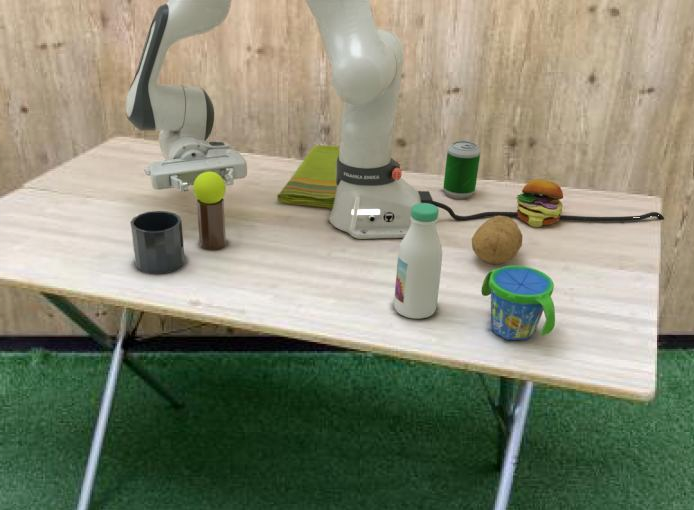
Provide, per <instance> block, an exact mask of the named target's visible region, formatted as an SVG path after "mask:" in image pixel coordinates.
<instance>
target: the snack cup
mask: <svg viewBox="0 0 694 510" xmlns="http://www.w3.org/2000/svg"><path fill="white" fill-rule="evenodd" d="M554 286H555V284H554V281H553V279H552V278H551V277H550V276H549V275H548V274H546V273H545V272H543V271H541V270H539V269H536V268H533V267H529V266H524V265H506V266H502V267H498V268H495V269H492V270H490V271H488V272H487V273H486V275H485V277H484V279H483V282H482V285H481V295H482V296H483V297H487V296H490V329H491V330H492V331H493V332H494V333H495V334H496V335H498V336H499V337H502V338H504V339H505V340H507V341H508V340H514V341H522V340H528V339H530V337H532V336H533V334H535V332H536V330H537V327H538V325H539V323H540V320H541V317H542V316H543V314H544V317H545V322H544V325H543V327H542V330H541V331H540V336H546V335H548V334H550V333H551V332H552V331H553V330H554V329H555V325H556V312H555V311H556V309H555V305H554V299H553V298H552V295H553V292H554V288H555V287H554Z"/></svg>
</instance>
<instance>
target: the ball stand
mask: <svg viewBox="0 0 694 510" xmlns="http://www.w3.org/2000/svg"><path fill="white" fill-rule="evenodd" d="M196 210H197V211H196V212H197V224H198V237H199V238H198V239H199V244H200V245H199V246H200V247H201V248H202V249H204V250H208V251H217V250H221V249H223V248H225V247H226V241H227V237H226V236H227V234H226V216H225V215H226V214H225V199H224V197H223V198H222V199H221V200H220V201H219V202H217V203H215V204H205V203H203V202H201V201H200V200H198V199H197V200H196Z"/></svg>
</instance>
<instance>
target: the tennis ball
mask: <svg viewBox="0 0 694 510" xmlns="http://www.w3.org/2000/svg"><path fill="white" fill-rule="evenodd" d="M192 186H193V187H192V189H193V193H194V196H195V198H196V199H197V200H200V201H201V202H203V203H205V204H215V203H217V202H219V201H220V200H221V199H222V198H223V199H224V197H225V195H226V188H227V187H226V184H225V182H224V180H223V179H222V177H221V176H220V175H218V174H217V173H214V172H204V173H202V174H200V175H199V176H198V177H197V178H196V179H195V182H194V185H192Z"/></svg>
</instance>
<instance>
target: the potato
mask: <svg viewBox="0 0 694 510" xmlns="http://www.w3.org/2000/svg"><path fill="white" fill-rule="evenodd" d="M471 246H472V250H473V252H474V253H475V255H476V256H477V257H478V258H479V259H480V260H481V261H482V262H485V263H487V264H492V265H500V264H503V263H506V262H509V261H511V260H513V259H514V258H515V257H516V256H517V254H518V252H519V251H520V249H521V247H522V246H523V233H522V231H521V229H520V228H519V226H518V224H517V222H516V221H515V220H514V219H513V218H511V217H510V216H499V215H498V216H491V217H490V218H488V219H487V220H486V221H485V222H483V223H482V224H481V225H480V226H479V227H478V228H477V229H476V230H475V233H474V234H473V235H472V238H471Z"/></svg>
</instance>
